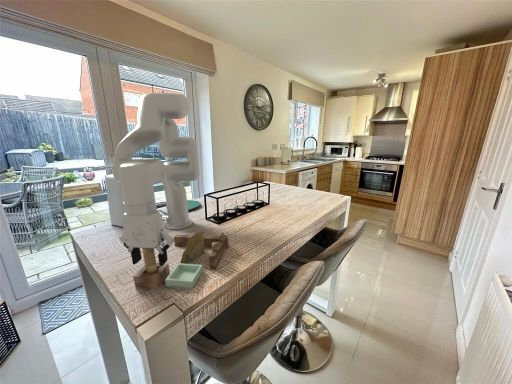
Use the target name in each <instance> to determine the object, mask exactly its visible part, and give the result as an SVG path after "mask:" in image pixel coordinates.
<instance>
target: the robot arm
mask: <svg viewBox="0 0 512 384" xmlns="http://www.w3.org/2000/svg"><path fill="white" fill-rule="evenodd" d="M189 111H190V103H189V100H188V98H187V97H186V95H185V94H183V93H171V92H170V93H168V92H167V93H166V92H164V93H163V92H148V93H144V94H143V95H141V96H140V98H139V101H138V106H137V116H136V120H135V121H136V122H135V127H134V129H133V130H132V131H130V132H129V133H127V134H126V136H125V137H123V139H121V141H120V142H119V143H118V144H117V146H116V148H115V150H114V155H113V159H112V169H111V171H112V174H113V177H114V179H115V180H116V182H118V183H119V184H121V187H122V193H123V198H124V203H123V204H122V206H123V208H125V209H126V213H124V217H123V227H122V229H123V234H122V235H120V236H119V238H118V240H119V241H120V242H121V243H122V244H123V246H124V247H125V248H126V249H127V252H128V253H130V256H131V261H132V265H137V264H138V263H139V262H140V261H142V259H143V257H142V252H141V249H142V248H154V249H156V251H158V254H157V257H158V259H157V260H158V263H159V265H160V266H163V265H164V264H165V263H167V262H168V260H169V259H168V258H169V257H168V249H169V248H171V246H172V245H173V243H174V236H173V237H172V235H170V234H168V233H167V232H166V231H165V228H166V229H168V230H173V231H178V230H183V229H186V228H189V227H191V226H192V225H193V219H192V218H190V217H189V210H188V205H187V200H188V199H187V198H188V197H187V196H188V195H187V191H186V190H187V189H186V188H185V186H184V185H183V184H182V183H181V182H195V181H197V180H199V178H200V174H201V173H200V164H199V153H198V147H197V146H198V145H197V142H196V140H195V139H194V138H193V137H190V136H179V129H178V124H177V123H176V122H175V120H181V119H185V118H186V117H187V116H188V114H189ZM157 143H158V145H159V146H158V147H159V151H160V154H161V157H162V158H165V159H169V160H170V159H171V160H170V161H166V162H163V161H162V160H161V159H157V158H135V159H133V158H132V157H133V156H134V155H136V153H138V152H140V151H141V150H143V149H146V148H147V147H151V146H153V145H154V144H157ZM131 158H132V159H131ZM173 159H174V161H172V160H173ZM175 159H179V160H175ZM180 159H181V160H180ZM183 159H186V160H183ZM161 183H162V185H163V189H164V195H165V197H164V198H165V201H166V202H165V204H166V207H167V208H166V210H167V212H166V213H167V214H168V215H163V216H161V215H162V214H161V213H160V211H159V210H160V209H157V203H156V196H155V190H154V189H155V188H154V185H157V184H161ZM160 214H161V215H160ZM164 222H166V223H165V227H164Z"/></svg>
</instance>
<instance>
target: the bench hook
mask: <svg viewBox="0 0 512 384" xmlns="http://www.w3.org/2000/svg"><path fill="white" fill-rule="evenodd" d="M193 235H194V234H193ZM193 235H192V234H175V235H174V236H173V238H174V242H173V243H174V246H175V247H186V245H187V243H188V239H189V238H190V237H192V236H193ZM203 236H204V248H210V249H211V252H210V254H209V255H208V260H209V261H208V262H209V270H214V271H215V270H217V269H218V266H219V265H220V263H221V260H222V258H223V256H224V254H225V252H226V251H227V249H229V247H230V245H229V244H230V242H229V241H230V240H229V239H230V237H229V236H228V235H227V234H225V233H224V232H219V233H218V234H217V236H215V235H214V236H213V235H212V236H211V235H203Z"/></svg>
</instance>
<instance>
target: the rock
mask: <svg viewBox="0 0 512 384" xmlns="http://www.w3.org/2000/svg"><path fill="white" fill-rule="evenodd" d="M204 236H205V235H204V234H203V232H202V231H200V232H196V233H194V234H193V236H192V237H190V238H189V239H188V243H187V245H186V246H185V249H184V251H183V252H182V255H181V258H180V262H179V263H182V264H192V262H194V261H195V260H198V259H199V258H201V257H202V256H204V255H205V254H206V249H205V248H206V247H204Z"/></svg>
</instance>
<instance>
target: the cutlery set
mask: <svg viewBox="0 0 512 384" xmlns="http://www.w3.org/2000/svg"><path fill="white" fill-rule="evenodd" d="M187 205H188V211H191V210H195V209H197V208H198V207H201V206H202V203H201V202H200V201H197V200H194V199H187ZM165 209H167V206H166V207H165ZM158 210H159V212H161V213H162V214H161V213H160V215H161V217H162V216H164V215H166V216H168V212H166V211H164V210H161V209H158Z"/></svg>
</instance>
